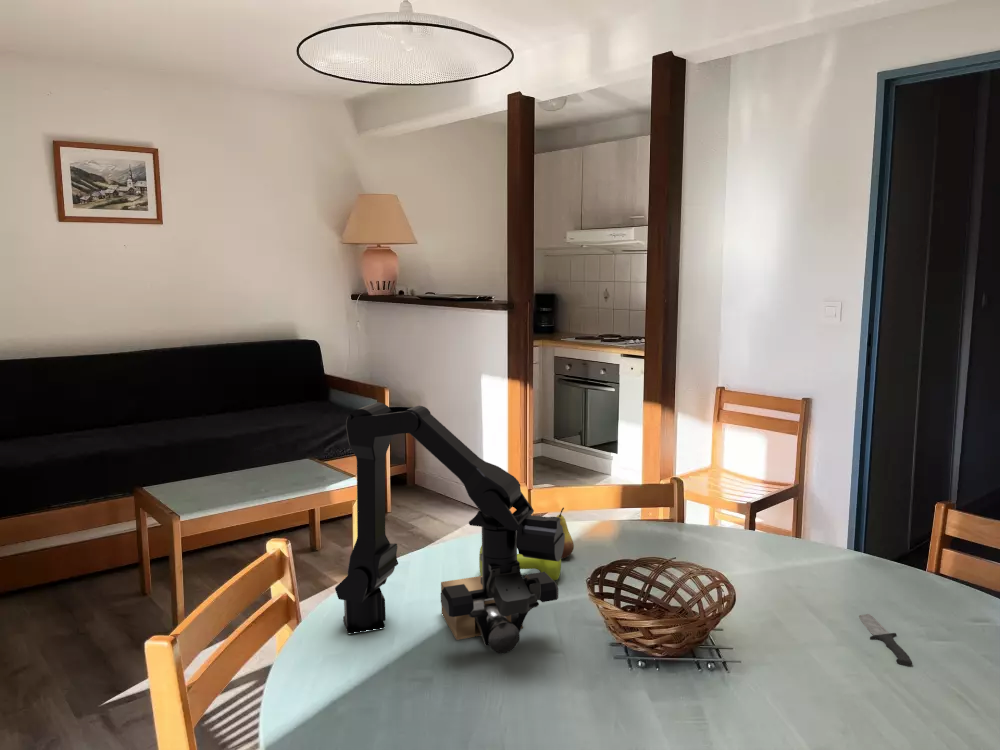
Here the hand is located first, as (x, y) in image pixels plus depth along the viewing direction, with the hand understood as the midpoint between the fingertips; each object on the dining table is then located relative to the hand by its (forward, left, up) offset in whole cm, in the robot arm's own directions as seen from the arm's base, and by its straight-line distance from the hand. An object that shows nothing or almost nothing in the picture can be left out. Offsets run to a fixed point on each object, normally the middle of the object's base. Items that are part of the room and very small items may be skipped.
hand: (500, 641), depth 126 cm
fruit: (+25, +32, -2) cm, 41 cm away
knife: (+63, -17, -2) cm, 65 cm away
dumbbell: (+13, +25, -2) cm, 29 cm away
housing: (0, +10, -1) cm, 11 cm away
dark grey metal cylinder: (0, +5, -1) cm, 6 cm away
